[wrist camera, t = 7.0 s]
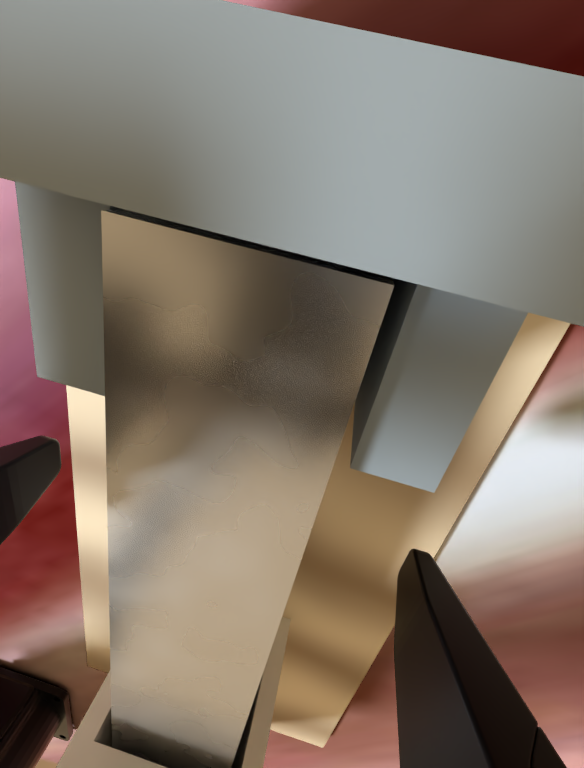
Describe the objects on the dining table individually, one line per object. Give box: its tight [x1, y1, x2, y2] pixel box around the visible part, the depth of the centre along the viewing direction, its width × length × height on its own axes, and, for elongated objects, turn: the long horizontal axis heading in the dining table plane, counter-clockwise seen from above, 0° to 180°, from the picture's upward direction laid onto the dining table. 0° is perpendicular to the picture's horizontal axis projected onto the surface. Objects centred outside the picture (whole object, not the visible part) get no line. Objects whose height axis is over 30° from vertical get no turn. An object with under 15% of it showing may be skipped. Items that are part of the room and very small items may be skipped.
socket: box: [0, 0, 584, 493], centre depth 7 cm, size 6×8×6 cm
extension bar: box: [101, 210, 394, 768], centre depth 11 cm, size 17×4×4 cm, turn 168°
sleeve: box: [56, 617, 291, 768], centre depth 16 cm, size 10×6×6 cm, turn 168°
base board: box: [66, 313, 571, 748], centre depth 15 cm, size 29×14×1 cm, turn 168°
